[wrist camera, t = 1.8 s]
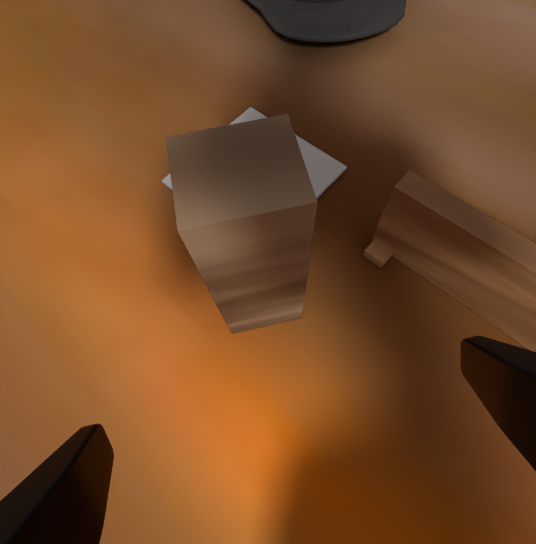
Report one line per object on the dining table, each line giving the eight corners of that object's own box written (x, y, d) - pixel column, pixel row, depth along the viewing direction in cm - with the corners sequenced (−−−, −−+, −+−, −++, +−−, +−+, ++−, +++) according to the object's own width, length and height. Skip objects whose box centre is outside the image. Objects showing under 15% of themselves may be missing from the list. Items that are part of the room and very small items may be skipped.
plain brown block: (301, 318, 23) (317, 202, 11) (231, 333, 23) (177, 231, 11) (286, 261, 24) (287, 111, 13) (221, 275, 24) (165, 135, 13)
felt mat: (258, 258, 25) (257, 256, 24) (162, 182, 28) (161, 180, 27) (346, 169, 27) (346, 166, 27) (250, 109, 30) (250, 106, 30)
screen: (564, 397, 20) (667, 383, 15) (359, 253, 24) (380, 201, 19) (593, 344, 21) (699, 313, 16) (392, 215, 26) (421, 156, 20)
